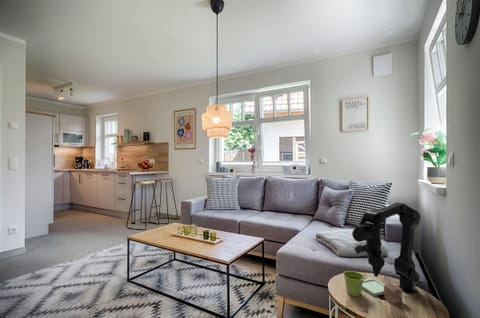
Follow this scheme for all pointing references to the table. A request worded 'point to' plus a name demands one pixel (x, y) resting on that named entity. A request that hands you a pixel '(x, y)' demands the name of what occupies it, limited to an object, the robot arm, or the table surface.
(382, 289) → the green tray
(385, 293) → the walnut block
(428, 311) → the table surface
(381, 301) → the table surface
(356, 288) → the plant pot
